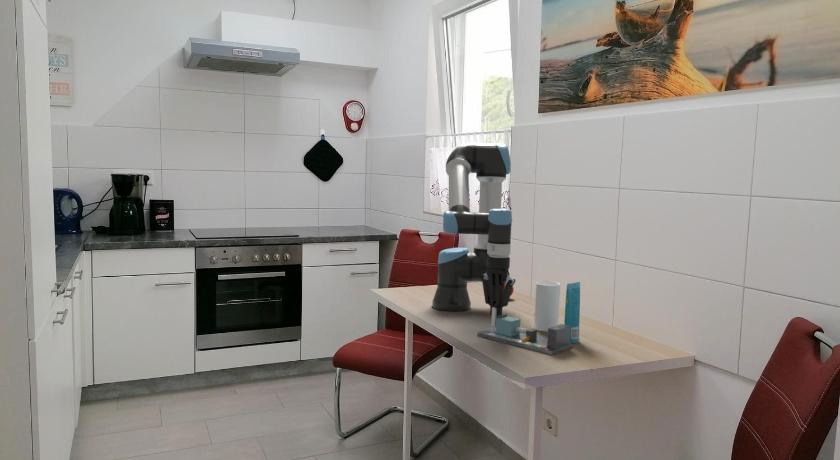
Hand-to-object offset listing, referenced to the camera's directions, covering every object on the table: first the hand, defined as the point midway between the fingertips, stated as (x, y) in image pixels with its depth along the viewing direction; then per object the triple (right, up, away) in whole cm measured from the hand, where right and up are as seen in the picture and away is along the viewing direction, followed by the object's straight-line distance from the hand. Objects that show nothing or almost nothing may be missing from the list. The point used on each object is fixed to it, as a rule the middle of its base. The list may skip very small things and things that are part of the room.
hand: (495, 326), depth 205 cm
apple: (+11, +2, +59) cm, 60 cm away
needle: (+9, -3, -10) cm, 14 cm away
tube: (+24, -4, -5) cm, 25 cm away
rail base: (+8, -4, -7) cm, 11 cm away
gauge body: (+6, -2, -5) cm, 8 cm away
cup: (+19, -3, +10) cm, 22 cm away
